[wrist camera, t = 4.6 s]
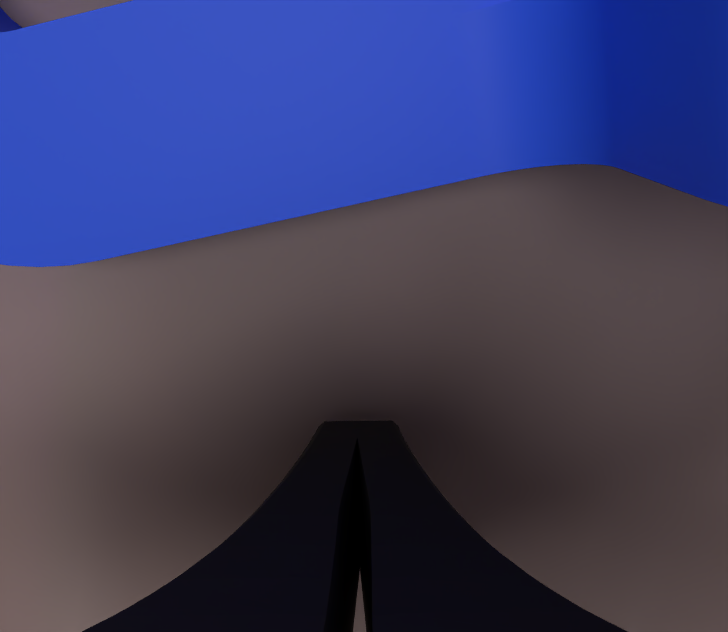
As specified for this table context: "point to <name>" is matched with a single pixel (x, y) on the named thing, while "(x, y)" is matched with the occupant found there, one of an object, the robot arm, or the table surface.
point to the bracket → (336, 109)
